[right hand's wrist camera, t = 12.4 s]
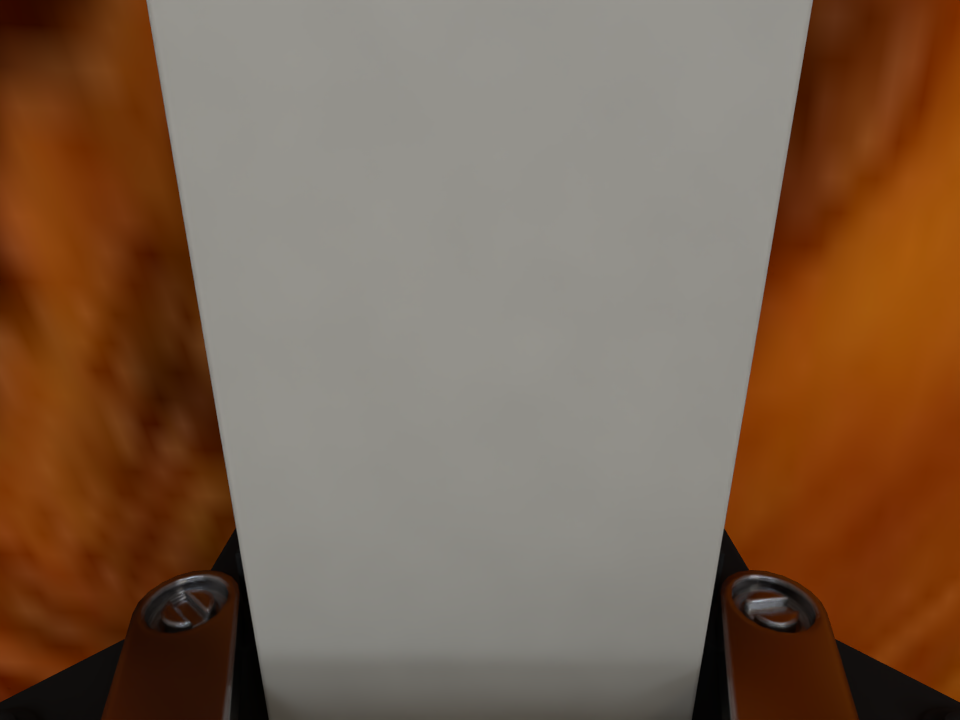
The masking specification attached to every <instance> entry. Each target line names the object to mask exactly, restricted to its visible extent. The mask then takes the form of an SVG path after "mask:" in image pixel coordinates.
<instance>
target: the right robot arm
mask: <svg viewBox="0 0 960 720" xmlns="http://www.w3.org/2000/svg"><path fill="white" fill-rule="evenodd" d="M0 720H269V717H268V711H267V706H266V700H265V694H264V688H263V682H262V676H261V670H260V664H259V659H258V653H257V647H256V641H255V635H254V629H253V623H252V617H251V612H250V606H249V600H248V594H247V588H246V582H245V576H244V570H243V565H242V559H241V553H240V547H239V541H238V535H237V529H235V530H234V532H233V534H232V535H231V537H230V539H229V541H228V542H227V544H226V546H225V547H224V549H223V551H222V552H221V554H220V556H219V557H218V559H217V561H216V562H215V564H214V566H213V567H212V569H211V570H203V571H193V572H189V573H185V574H181V575H178V576H175V577H173V578H171V579H169V580H167V581H164V582H162V583H161V584H159V585H158V586H156V587H155V588H154V589H152V590H151V591H149V592H148V593H147V594H146V595H145V596H144V597H143V598H142V599H141V600H140V601H139V602H138V604H137V606H136V608H135V610H134V612H133V614H132V618H131V621H130V624H129V628H128V631H127V634H126V638H125V639H124V640H122V641H120V642H118V643H116V644H114V645H112V646H110V647H108V648H106V649H104V650H102V651H100V652H98V653H96V654H94V655H92V656H91V657H89V658H87V659H85V660H83V661H81V662H79V663H77V664H75V665H73V666H71V667H69V668H67V669H65V670H63V671H61V672H59V673H57V674H55V675H53V676H51V677H49V678H47V679H45V680H43V681H41V682H39V683H37V684H35V685H34V686H32V687H30V688H28V689H26V690H24V691H22V692H20V693H18V694H16V695H14V696H12V697H10V698H8V699H6V700H4V701H2V702H0ZM692 720H960V702H958V701H956V700H954V699H952V698H950V697H948V696H946V695H944V694H942V693H940V692H938V691H936V690H934V689H932V688H930V687H928V686H926V685H924V684H922V683H920V682H919V681H917V680H915V679H913V678H911V677H909V676H907V675H905V674H903V673H901V672H899V671H897V670H895V669H893V668H891V667H889V666H887V665H885V664H883V663H881V662H879V661H877V660H875V659H873V658H871V657H869V656H867V655H865V654H863V653H862V652H860V651H858V650H856V649H854V648H852V647H850V646H848V645H846V644H844V643H842V642H840V641H838V640H836V639H835V638H834V634H833V631H832V628H831V624H830V621H829V618H828V614H827V612H826V610H825V608H824V606H823V604H822V603H821V601H820V600H819V599H818V598H817V597H816V596H815V595H814V594H813V593H812V592H811V591H809V590H808V589H806V588H805V587H804V586H802V585H801V584H799V583H798V582H796V581H793V580H791V579H789V578H787V577H785V576H782V575H779V574H775V573H771V572H767V571H757V570H749V569H748V568H747V566H746V564H745V563H744V561H743V559H742V558H741V556H740V554H739V553H738V551H737V549H736V548H735V546H734V544H733V542H732V541H731V539H730V537H729V536H728V534H727V532H726V531H725V529H724V530H723V536H722V542H721V548H720V554H719V560H718V566H717V572H716V578H715V584H714V590H713V596H712V602H711V608H710V614H709V619H708V625H707V631H706V637H705V643H704V649H703V655H702V661H701V667H700V673H699V679H698V685H697V691H696V697H695V703H694V709H693V714H692Z"/></svg>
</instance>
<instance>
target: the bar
mask: <svg viewBox="0 0 960 720" xmlns="http://www.w3.org/2000/svg"><path fill="white" fill-rule="evenodd" d="M146 1H147V6H148V12H149V18H150V24H151V30H152V36H153V42H154V48H155V53H156V59H157V65H158V71H159V77H160V83H161V89H162V95H163V100H164V106H165V112H166V118H167V124H168V130H169V136H170V142H171V147H172V153H173V159H174V165H175V171H176V177H177V183H178V189H179V194H180V200H181V206H182V212H183V218H184V224H185V230H186V236H187V241H188V247H189V253H190V259H191V265H192V271H193V277H194V283H195V288H196V294H197V300H198V306H199V312H200V318H201V324H202V330H203V335H204V341H205V347H206V353H207V359H208V365H209V371H210V377H211V382H212V388H213V394H214V400H215V406H216V412H217V418H218V424H219V429H220V435H221V441H222V447H223V453H224V459H225V465H226V471H227V476H228V482H229V488H230V494H231V500H232V506H233V512H234V518H235V523H236V529H237V535H238V541H239V547H240V553H241V559H242V565H243V570H244V576H245V582H246V588H247V594H248V600H249V606H250V612H251V617H252V623H253V629H254V635H255V641H256V647H257V653H258V659H259V664H260V670H261V676H262V682H263V688H264V694H265V700H266V706H267V711H268V717H269V720H692V714H693V709H694V703H695V697H696V691H697V685H698V679H699V673H700V667H701V661H702V655H703V649H704V643H705V637H706V631H707V625H708V619H709V614H710V608H711V602H712V596H713V590H714V584H715V578H716V572H717V566H718V560H719V554H720V548H721V542H722V536H723V530H724V524H725V519H726V513H727V507H728V501H729V495H730V489H731V483H732V477H733V471H734V465H735V459H736V453H737V447H738V441H739V435H740V429H741V424H742V418H743V412H744V406H745V400H746V394H747V388H748V382H749V376H750V370H751V364H752V358H753V352H754V346H755V340H756V334H757V328H758V323H759V317H760V311H761V305H762V299H763V293H764V287H765V281H766V275H767V269H768V263H769V257H770V251H771V245H772V239H773V233H774V228H775V222H776V216H777V210H778V204H779V198H780V192H781V186H782V180H783V174H784V168H785V162H786V156H787V150H788V144H789V138H790V133H791V127H792V121H793V115H794V109H795V103H796V97H797V91H798V85H799V79H800V73H801V67H802V61H803V55H804V49H805V43H806V38H807V32H808V26H809V20H810V14H811V8H812V2H813V0H146Z"/></svg>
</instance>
